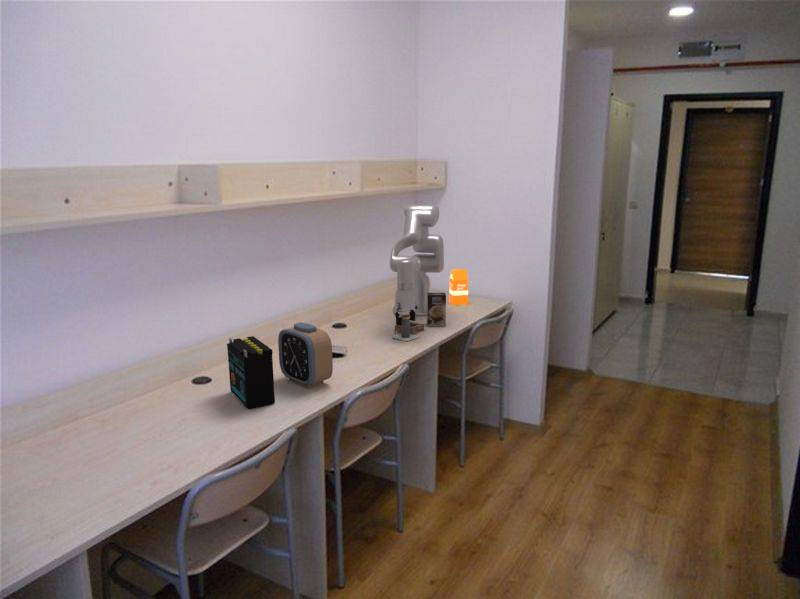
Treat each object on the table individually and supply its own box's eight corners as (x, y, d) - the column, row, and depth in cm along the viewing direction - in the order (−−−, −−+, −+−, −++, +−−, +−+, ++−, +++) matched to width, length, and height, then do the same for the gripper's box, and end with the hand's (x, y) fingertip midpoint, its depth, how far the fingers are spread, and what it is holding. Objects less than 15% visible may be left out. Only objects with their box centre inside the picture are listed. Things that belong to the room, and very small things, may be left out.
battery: (230, 391, 218) (226, 338, 214) (256, 386, 223) (253, 333, 219) (247, 410, 202) (243, 352, 198) (275, 403, 207) (272, 347, 203)
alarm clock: (279, 378, 231) (276, 323, 226) (300, 372, 238) (297, 318, 233) (312, 392, 217) (309, 333, 212) (333, 385, 223) (331, 328, 219)
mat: (404, 334, 288) (404, 332, 288) (419, 337, 282) (419, 336, 282) (392, 338, 281) (392, 337, 281) (407, 341, 276) (407, 340, 275)
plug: (404, 334, 285) (404, 313, 282) (412, 336, 282) (411, 315, 280) (399, 336, 281) (398, 315, 279) (406, 338, 279) (406, 317, 276)
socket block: (408, 327, 300) (407, 321, 299) (424, 330, 294) (424, 324, 293) (394, 331, 292) (394, 325, 292) (411, 335, 286) (411, 328, 285)
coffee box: (427, 327, 299) (427, 295, 295) (426, 323, 305) (426, 292, 302) (446, 327, 299) (446, 294, 296) (444, 323, 306) (444, 291, 302)
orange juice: (449, 303, 349) (449, 268, 344) (464, 302, 350) (464, 267, 346) (452, 306, 341) (453, 270, 337) (468, 305, 343) (468, 270, 338)
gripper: (411, 282, 285) (411, 317, 289) (386, 288, 272) (387, 325, 276) (423, 284, 280) (423, 320, 284) (399, 290, 267) (399, 328, 271)
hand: (405, 322), depth 280 cm, fingers open, 9 cm apart
